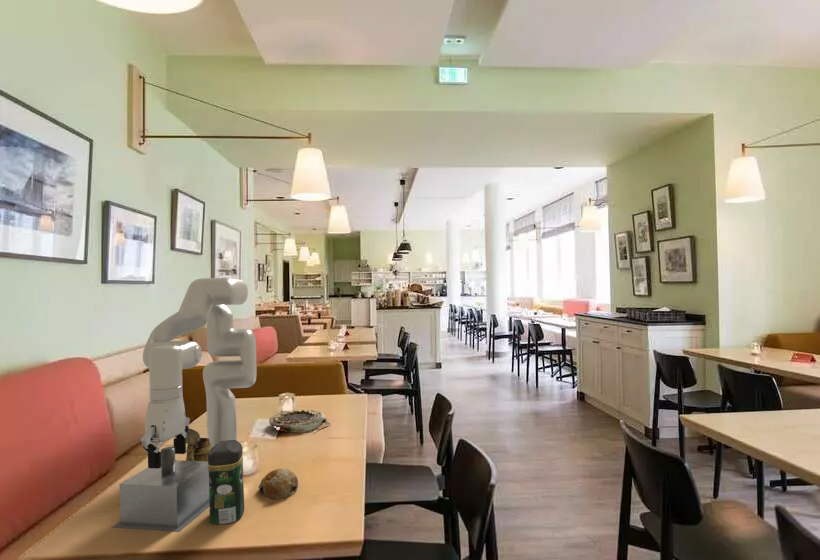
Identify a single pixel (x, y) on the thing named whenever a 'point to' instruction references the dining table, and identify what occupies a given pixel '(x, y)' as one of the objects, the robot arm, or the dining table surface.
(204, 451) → the wooden mug
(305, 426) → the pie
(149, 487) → the cover
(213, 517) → the coffee jar
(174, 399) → the robot arm
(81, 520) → the dining table surface
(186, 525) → the mat
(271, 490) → the bread roll
